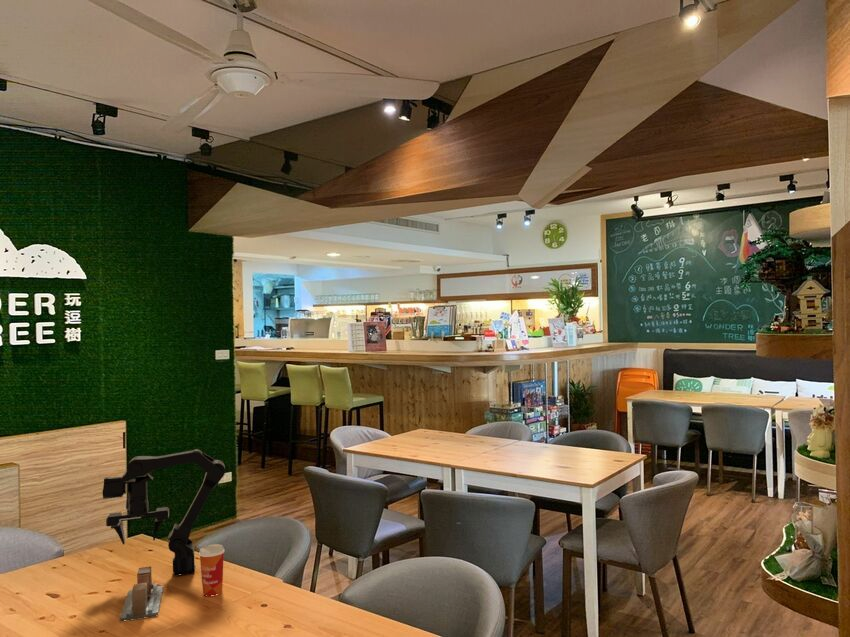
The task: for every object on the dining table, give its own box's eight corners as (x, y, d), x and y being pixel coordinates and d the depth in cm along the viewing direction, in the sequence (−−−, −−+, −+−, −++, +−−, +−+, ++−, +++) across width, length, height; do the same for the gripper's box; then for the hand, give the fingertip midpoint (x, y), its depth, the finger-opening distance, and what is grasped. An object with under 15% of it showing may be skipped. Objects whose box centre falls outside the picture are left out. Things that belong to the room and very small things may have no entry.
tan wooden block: (151, 588, 194) (151, 566, 194) (150, 595, 188) (149, 572, 188) (139, 590, 192) (139, 567, 193) (137, 597, 187) (136, 574, 187)
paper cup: (194, 595, 190) (193, 550, 190) (213, 586, 197) (212, 542, 197) (212, 600, 186) (211, 554, 186) (231, 590, 193) (230, 545, 193)
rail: (163, 588, 196) (162, 563, 196) (158, 615, 177) (157, 587, 177) (128, 593, 193) (128, 568, 193) (119, 622, 174) (119, 593, 174)
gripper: (169, 486, 216) (170, 531, 216) (110, 492, 210) (111, 538, 209) (167, 494, 205) (168, 541, 205) (105, 501, 199) (106, 549, 199)
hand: (139, 542), depth 205 cm, fingers open, 9 cm apart
